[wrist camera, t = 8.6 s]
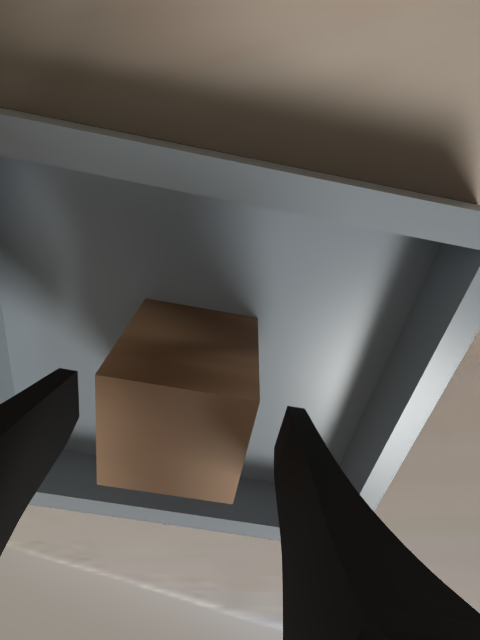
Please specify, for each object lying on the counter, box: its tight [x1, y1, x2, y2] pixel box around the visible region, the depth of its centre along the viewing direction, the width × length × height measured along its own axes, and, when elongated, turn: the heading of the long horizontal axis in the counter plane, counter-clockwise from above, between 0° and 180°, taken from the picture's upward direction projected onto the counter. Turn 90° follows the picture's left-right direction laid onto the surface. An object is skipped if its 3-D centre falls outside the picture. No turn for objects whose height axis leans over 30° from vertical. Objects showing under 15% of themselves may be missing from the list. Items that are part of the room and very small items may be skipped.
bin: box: [0, 107, 480, 541], centre depth 14 cm, size 18×16×3 cm
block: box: [95, 298, 260, 504], centre depth 13 cm, size 4×4×5 cm
